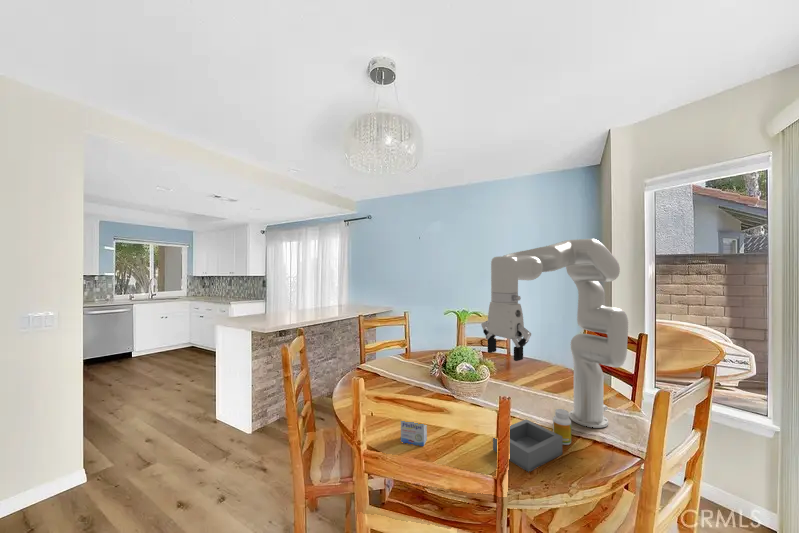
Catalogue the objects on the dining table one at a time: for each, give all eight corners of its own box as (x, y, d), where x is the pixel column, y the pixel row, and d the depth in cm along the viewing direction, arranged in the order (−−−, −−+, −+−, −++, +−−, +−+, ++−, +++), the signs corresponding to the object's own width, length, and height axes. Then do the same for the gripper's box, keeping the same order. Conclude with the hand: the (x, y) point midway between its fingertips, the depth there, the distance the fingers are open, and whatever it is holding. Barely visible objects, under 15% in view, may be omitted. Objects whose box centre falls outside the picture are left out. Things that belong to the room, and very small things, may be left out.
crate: (526, 435, 112) (526, 419, 112) (562, 454, 101) (562, 436, 101) (492, 449, 104) (492, 432, 104) (528, 472, 93) (528, 453, 93)
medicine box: (400, 443, 108) (400, 417, 108) (404, 436, 112) (404, 410, 112) (424, 447, 106) (423, 420, 106) (427, 439, 110) (426, 413, 110)
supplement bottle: (573, 446, 105) (573, 415, 105) (555, 444, 106) (555, 414, 106) (568, 437, 111) (568, 408, 110) (551, 435, 112) (551, 407, 112)
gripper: (538, 300, 92) (538, 361, 93) (490, 294, 107) (491, 347, 107) (520, 302, 88) (521, 366, 89) (473, 296, 103) (474, 351, 103)
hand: (504, 355), depth 98 cm, fingers open, 9 cm apart
